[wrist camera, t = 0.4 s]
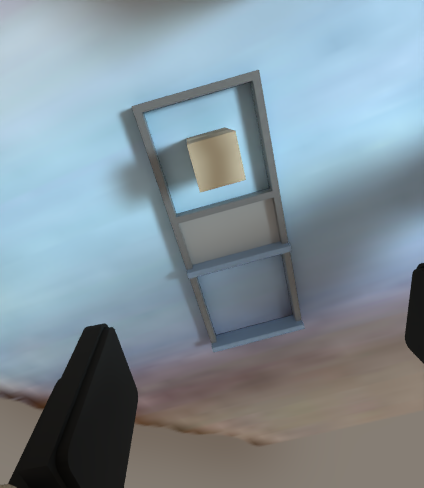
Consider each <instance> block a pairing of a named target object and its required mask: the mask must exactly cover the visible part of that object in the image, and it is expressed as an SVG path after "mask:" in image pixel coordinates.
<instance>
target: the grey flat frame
mask: <svg viewBox="0 0 424 488" xmlns="http://www.w3.org/2000/svg"><path fill="white" fill-rule="evenodd" d="M248 82H250V84H251V90H252V95H253V101H254V106H255V112H256V117H257V122H258V128H259V133H260V139H261V144H262V150H263V155H264V161H265V166H266V172H267V177H268V183H269V189H265V190H261V191H258V192H254V193H251V194H247V195H243V196H240V197H236V198H232V199H229V200H225V201H222V202H218V203H214V204H211V205H207V206H204V207H200V208H196V209H193V210H189V211H185V212H182V213H178V214H176V211H175V208H174V205H173V202H172V199H171V196H170V193H169V190H168V186H167V183H166V180H165V177H164V174H163V171H162V168H161V165H160V162H159V159H158V156H157V153H156V150H155V146H154V143H153V140H152V137H151V134H150V131H149V128H148V125H147V122H146V119H145V116H144V112H147V111H151V110H154V109H158V108H161V107H165V106H168V105H172V104H175V103H179V102H182V101H186V100H189V99H192V98H196V97H199V96H203V95H206V94H210V93H213V92H217V91H220V90H224V89H227V88H231V87H234V86H238V85H241V84H245V83H248ZM132 109H133V112H134V115H135V118H136V121H137V124H138V127H139V130H140V133H141V136H142V139H143V142H144V145H145V148H146V151H147V154H148V157H149V160H150V163H151V166H152V168H153V171H154V174H155V177H156V180H157V183H158V186H159V189H160V192H161V195H162V198H163V201H164V204H165V207H166V210H167V213H168V216H169V219H170V222H171V225H172V228H173V231H174V234H175V237H176V240H177V243H178V246H179V248H180V251H181V254H182V257H183V260H184V263H185V266H186V269H187V276H188V279H190V281H191V284H192V287H193V290H194V293H195V296H196V299H197V302H198V305H199V308H200V311H201V314H202V317H203V320H204V323H205V326H206V328H207V331H208V334H209V337H210V340H211V343H212V349H213V352H217V351H221V350H225V349H229V348H233V347H236V346H240V345H244V344H248V343H252V342H256V341H259V340H263V339H267V338H271V337H275V336H278V335H282V334H286V333H290V332H294V331H297V330H301V329H305V328H304V324H303V322H302V320H301V314H300V309H299V303H298V297H297V291H296V285H295V279H294V273H293V267H292V261H291V256H290V252H291V251H292V250H291V245H290V244H289V243H288V238H287V232H286V226H285V220H284V214H283V208H282V202H281V197H280V191H279V185H278V179H277V173H276V167H275V161H274V155H273V149H272V143H271V138H270V132H269V126H268V120H267V114H266V108H265V102H264V96H263V90H262V84H261V79H260V73H259V70H256V71H253V72H249V73H246V74H242V75H239V76H235V77H232V78H228V79H225V80H222V81H218V82H215V83H211V84H208V85H204V86H201V87H197V88H194V89H190V90H187V91H183V92H180V93H176V94H173V95H169V96H166V97H163V98H159V99H156V100H152V101H149V102H145V103H142V104H138V105H135V106H132ZM280 254H282V259H283V265H284V270H285V276H286V281H287V286H288V292H289V297H290V303H291V308H292V314H293V315H291V316H287V317H284V318H280V319H276V320H272V321H268V322H265V323H261V324H257V325H253V326H249V327H246V328H242V329H238V330H234V331H230V332H227V333H223V334H219V335H216V334H215V331H214V328H213V325H212V322H211V319H210V316H209V313H208V310H207V306H206V303H205V300H204V297H203V294H202V291H201V288H200V285H199V282H198V279H197V277H198V276H202V275H205V274H209V273H213V272H217V271H220V270H224V269H228V268H231V267H235V266H239V265H242V264H246V263H250V262H254V261H257V260H261V259H265V258H268V257H272V256H276V255H280Z"/></svg>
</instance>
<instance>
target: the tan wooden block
mask: <svg viewBox="0 0 424 488" xmlns="http://www.w3.org/2000/svg"><path fill="white" fill-rule="evenodd" d="M186 140H187V147H188V151H189V155H190V158H191V162H192V165H193V169H194V172H195V176H196V179H197V183H198V187H199V190H200V192H204V191H207V190H211V189H215V188H218V187H222V186H225V185H229V184H233V183H236V182H240V181H243V180H246V178H245V174H244V169H243V164H242V160H241V155H240V150H239V145H238V141H237V136H236V131H234V130H231V129H228V128H221V129H218V130H214V131H211V132H207V133H203V134H200V135H196V136H193V137H189V138H186Z"/></svg>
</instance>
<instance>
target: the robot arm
mask: <svg viewBox="0 0 424 488" xmlns="http://www.w3.org/2000/svg"><path fill="white" fill-rule="evenodd" d="M405 341H406V344H407V346H408V347H409V349H410V350H411V351H412V352H413V353H414V354H415V355H416V356H417V357H418V358H419V359H420V360H421V361H422V362H423V363H424V263H421V264H419V265H418V266H417V269H416V270H414V271H413V274H412V282H411V290H410V299H409V307H408V315H407V323H406V331H405ZM137 403H138V392H137V388H136V385H135V382H134V380H133V377H132V374H131V372H130V369H129V366H128V364H127V361H126V358H125V356H124V353H123V350H122V348H121V345H120V342H119V340H118V337H117V334H116V332H115V329H114V328H113V327H108V326H107V324H99V325H94V326H89V327H86V328H85V329H84V330H83V333H82V335H81V337H80V339H79V341H78V343H77V345H76V347H75V350H74V352H73V354H72V356H71V358H70V360H69V362H68V365H67V367H66V369H65V371H64V373H63V375H62V377H61V379H59V380H58V382H57V383H56V385H55V387H54V389H53V391H52V393H51V395H50V397H49V399H48V401H47V403H46V406H45V408H44V410H43V412H42V414H41V416H40V418H39V420H38V422H37V424H36V426H35V429H34V431H33V433H32V435H31V437H30V439H29V441H28V443H27V445H26V447H25V449H24V452H23V454H22V456H21V458H20V460H19V462H18V464H17V466H16V468H15V471H14V472H13V475H12V477H11V479H10V481H9V483H8V484H4V485H0V488H124V483H125V477H126V471H127V465H128V458H129V453H130V446H131V440H132V434H133V428H134V422H135V416H136V410H137Z"/></svg>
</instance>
